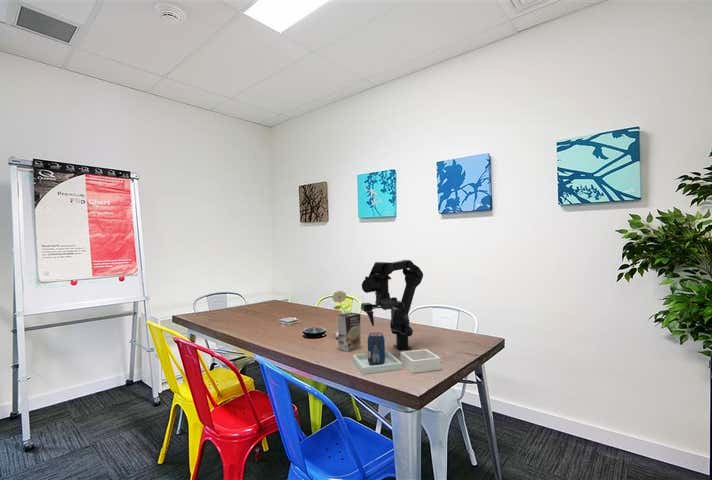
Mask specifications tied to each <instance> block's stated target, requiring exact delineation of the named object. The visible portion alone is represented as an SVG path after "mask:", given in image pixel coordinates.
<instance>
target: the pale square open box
mask: <svg viewBox="0 0 712 480" xmlns="http://www.w3.org/2000/svg"><path fill="white" fill-rule="evenodd" d="M399 361H400V362H401V363H402V367H403V366H404V368H405V369H407V370H408V371H409V372H410V373H411V374H417V373H427V372H433V371H441V370H442V362H441V361H442V359H441V357H440V356H438V355H436V354H435V353H434V352H432V351H430V350H429V349H428V348H424V349H416V350H414V349H413V350H407V351H405V350H404V351H399Z"/></svg>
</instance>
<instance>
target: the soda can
mask: <svg viewBox="0 0 712 480" xmlns="http://www.w3.org/2000/svg"><path fill="white" fill-rule="evenodd" d="M385 343H386V340H385V337H384V334H383V332H377V331H376V332H370V333H368V337H367V353H368V362H369V364H370V365H372V366H374V365H383V364H384V362H385V351H386V347H385Z"/></svg>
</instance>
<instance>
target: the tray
mask: <svg viewBox="0 0 712 480" xmlns="http://www.w3.org/2000/svg"><path fill="white" fill-rule="evenodd" d="M352 362H353V363H354V365H355V366H356V367H357V369H359V371H360V373H362V374H363V375H368V374H375V373H381V372H382V373H384V372H392V371H400V370H403V365H402V363H401V362H400V359H398V358H397V357H396V356H395V355H393V354H392V353H391V352H390V351H389V350H385V362H384V364H383V365H374V366H372V365H370V364H369V362H368V352H366V353H358V354H352Z"/></svg>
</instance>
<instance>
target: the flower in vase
mask: <svg viewBox="0 0 712 480" xmlns="http://www.w3.org/2000/svg"><path fill="white" fill-rule="evenodd" d="M331 298H332V301H333V302H334V303H338V304H340V305H336V306H334V307H333V310H340V309H342V311H340V313H341V315H342V314H348V313H351V310H347V309H349V308H350V306H351V304H349V305H346V306H345V307H343V306H342V303H343V302H345V301H346V299H347V294H346V292H345V291H343V290H337V291H336V292H334V293H333V294H332V296H331ZM335 337H336V338H338V330H337V331H336V333H335Z"/></svg>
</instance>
